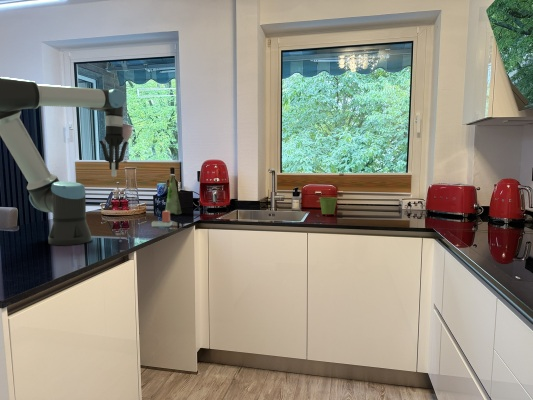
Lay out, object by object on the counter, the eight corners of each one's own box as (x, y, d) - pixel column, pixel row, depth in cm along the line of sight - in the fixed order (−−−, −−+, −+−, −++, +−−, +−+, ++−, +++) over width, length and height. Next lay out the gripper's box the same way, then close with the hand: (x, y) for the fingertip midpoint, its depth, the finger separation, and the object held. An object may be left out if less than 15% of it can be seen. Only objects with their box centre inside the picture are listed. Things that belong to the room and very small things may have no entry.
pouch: (174, 215, 228) (174, 174, 226) (158, 214, 233) (158, 173, 231) (185, 213, 238) (185, 173, 236) (170, 212, 243) (170, 173, 241)
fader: (168, 222, 189) (168, 211, 189) (162, 222, 189) (162, 211, 189) (170, 220, 194) (170, 210, 194) (164, 220, 194) (164, 210, 194)
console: (170, 226, 190) (170, 222, 190) (151, 226, 189) (151, 222, 189) (171, 225, 195) (171, 221, 194) (153, 225, 194) (153, 221, 194)
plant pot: (316, 214, 243) (316, 197, 242) (334, 214, 244) (334, 197, 243) (320, 217, 231) (321, 198, 230) (340, 217, 232) (340, 198, 231)
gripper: (130, 127, 183) (130, 177, 184) (102, 126, 182) (102, 176, 183) (126, 125, 175) (125, 177, 177) (96, 124, 174) (96, 176, 176)
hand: (114, 176), depth 180 cm, fingers closed
